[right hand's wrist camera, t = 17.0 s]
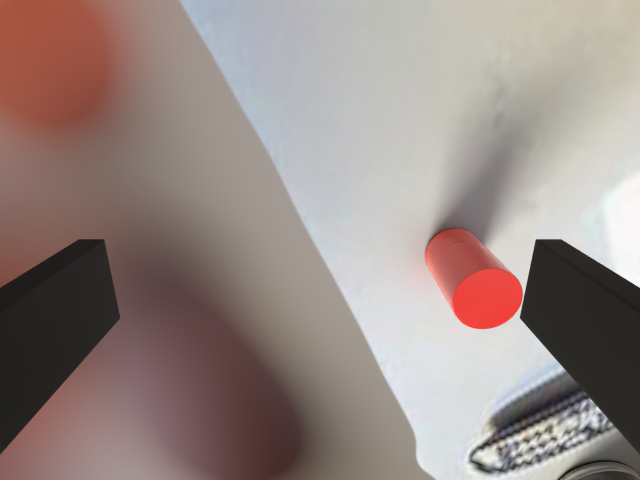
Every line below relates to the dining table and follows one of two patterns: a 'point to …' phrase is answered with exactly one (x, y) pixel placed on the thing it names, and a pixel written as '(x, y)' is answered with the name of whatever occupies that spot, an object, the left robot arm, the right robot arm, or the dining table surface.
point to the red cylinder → (472, 279)
